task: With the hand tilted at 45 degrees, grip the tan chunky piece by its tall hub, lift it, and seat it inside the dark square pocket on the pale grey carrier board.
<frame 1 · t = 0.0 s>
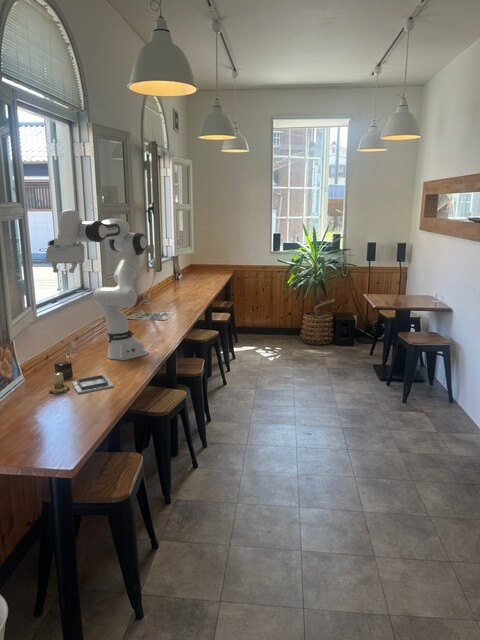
hand: (63, 272, 226), 52 cm above the counter, tool tilted 20°, fingers open, 8 cm apart
box: (64, 377, 240), on the counter
tan chunky piece: (59, 390, 222), on the counter
carrier: (92, 385, 227), on the counter
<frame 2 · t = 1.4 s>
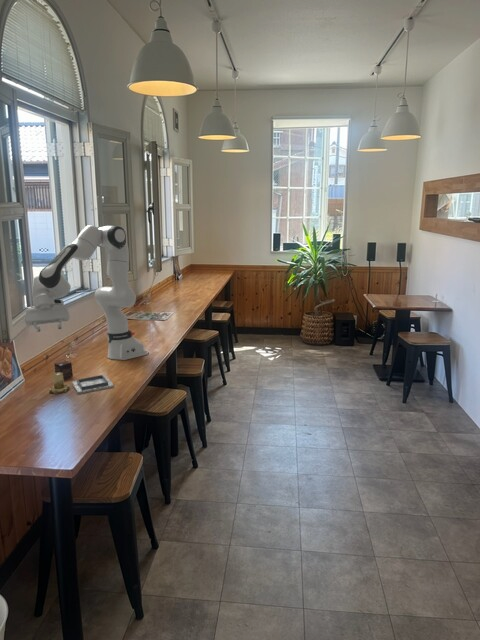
hand: (49, 329, 226), 26 cm above the counter, tool tilted 45°, fingers open, 8 cm apart
nothing on the counter moved.
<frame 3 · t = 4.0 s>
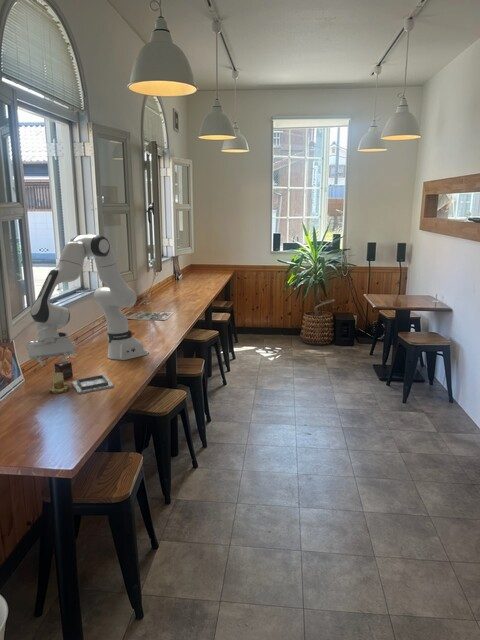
hand: (54, 364, 225), 11 cm above the counter, tool tilted 45°, fingers open, 8 cm apart
nothing on the counter moved.
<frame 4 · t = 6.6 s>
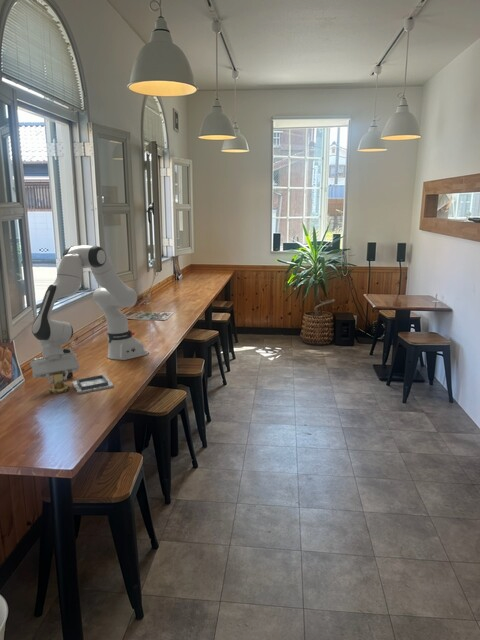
hand: (58, 381, 220), 4 cm above the counter, tool tilted 45°, fingers closed on tan chunky piece, 4 cm apart
tan chunky piece: (59, 390, 222), on the counter, touching gripper
everything else where it was.
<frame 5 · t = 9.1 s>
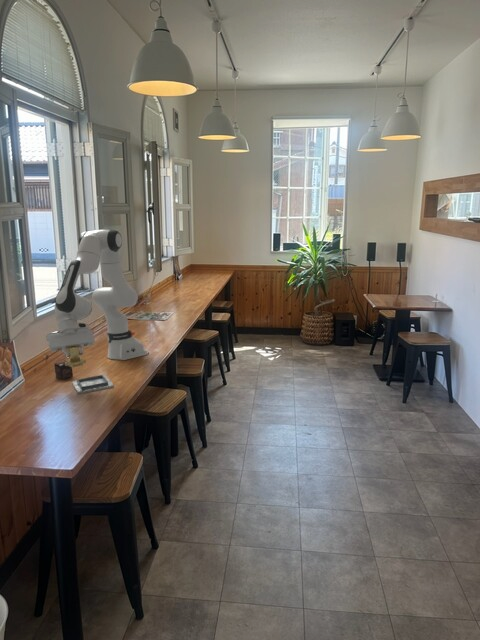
hand: (74, 355, 221), 16 cm above the counter, tool tilted 45°, fingers closed on tan chunky piece, 4 cm apart
tan chunky piece: (75, 364, 222), point 11 cm above the counter, touching gripper
everything else where it was.
when the fingers open (7 cm above the counter, at t = 12.1 s): tan chunky piece drops 2 cm, resting on carrier.
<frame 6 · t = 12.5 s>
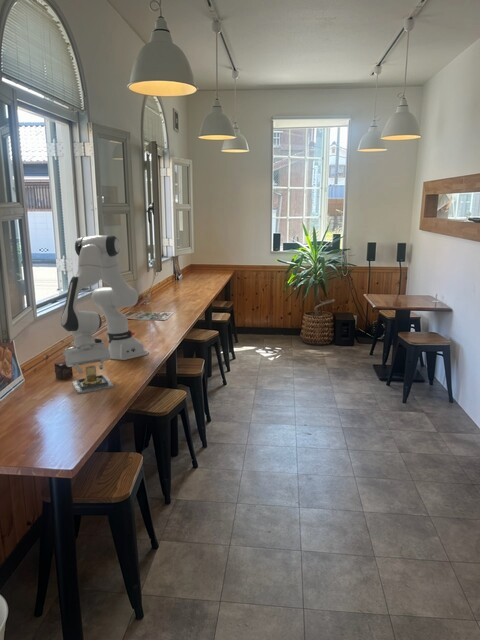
hand: (91, 370, 225), 7 cm above the counter, tool tilted 45°, fingers open, 8 cm apart
tan chunky piece: (92, 383, 227), point 1 cm above the counter, touching carrier
everything else where it was.
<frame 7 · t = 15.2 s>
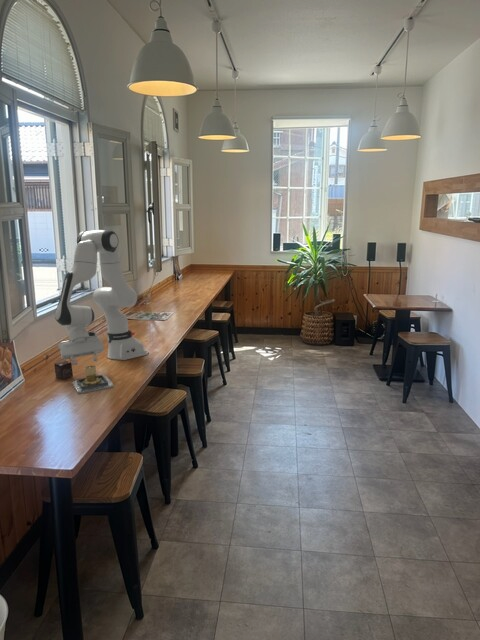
hand: (85, 362, 235), 8 cm above the counter, tool tilted 45°, fingers open, 8 cm apart
nothing on the counter moved.
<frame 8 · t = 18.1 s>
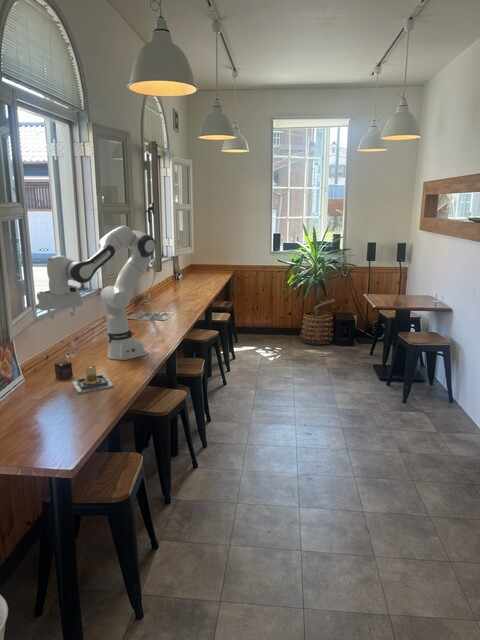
hand: (62, 316, 239), 29 cm above the counter, tool pointing down, fingers open, 8 cm apart
nothing on the counter moved.
at the end: tan chunky piece 0.1 cm off-centre on the carrier, point 1.0 cm above the carrier's base; tan chunky piece tilted 0°; the gripper is holding nothing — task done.
